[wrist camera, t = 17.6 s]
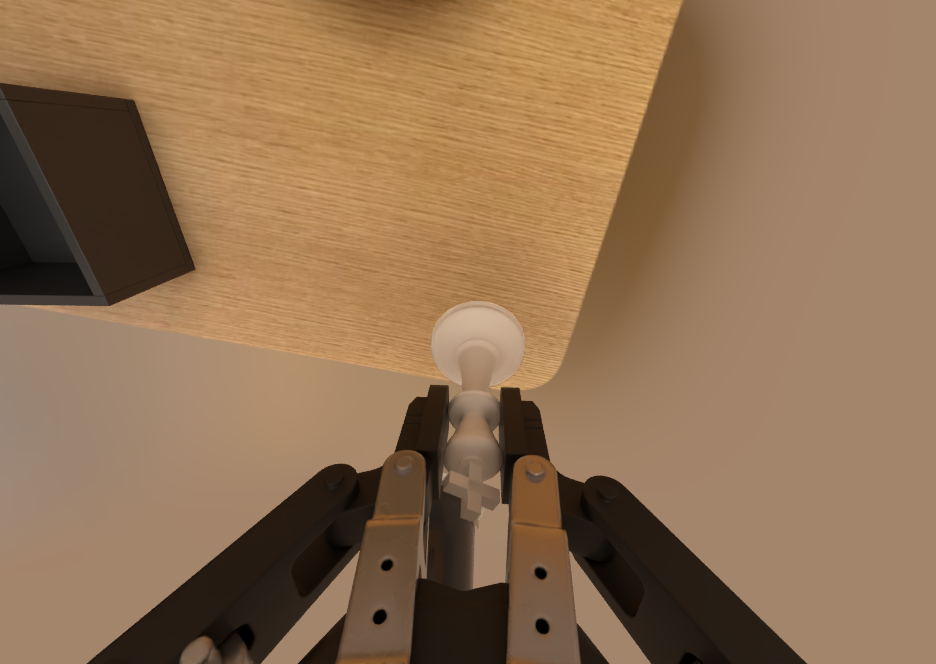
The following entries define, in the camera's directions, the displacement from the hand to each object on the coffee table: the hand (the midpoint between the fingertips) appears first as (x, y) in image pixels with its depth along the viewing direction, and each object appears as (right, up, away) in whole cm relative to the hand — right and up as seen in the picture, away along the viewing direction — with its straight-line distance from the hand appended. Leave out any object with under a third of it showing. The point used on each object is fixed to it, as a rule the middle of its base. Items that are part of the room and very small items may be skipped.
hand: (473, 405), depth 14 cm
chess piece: (0, +2, +5) cm, 5 cm away
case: (-34, +15, +17) cm, 41 cm away
